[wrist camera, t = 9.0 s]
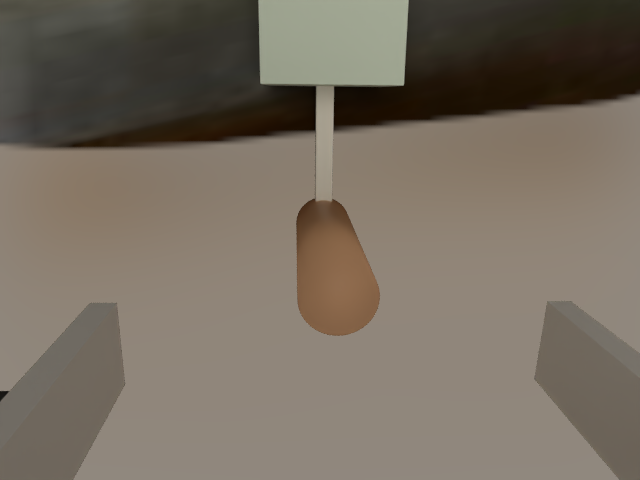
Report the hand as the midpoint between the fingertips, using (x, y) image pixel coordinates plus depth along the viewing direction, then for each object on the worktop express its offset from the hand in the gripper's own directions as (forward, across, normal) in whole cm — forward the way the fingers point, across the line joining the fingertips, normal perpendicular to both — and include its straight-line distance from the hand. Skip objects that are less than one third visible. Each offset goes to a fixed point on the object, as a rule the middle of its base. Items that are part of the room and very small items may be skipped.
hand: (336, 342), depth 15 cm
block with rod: (+14, 0, +6) cm, 15 cm away
